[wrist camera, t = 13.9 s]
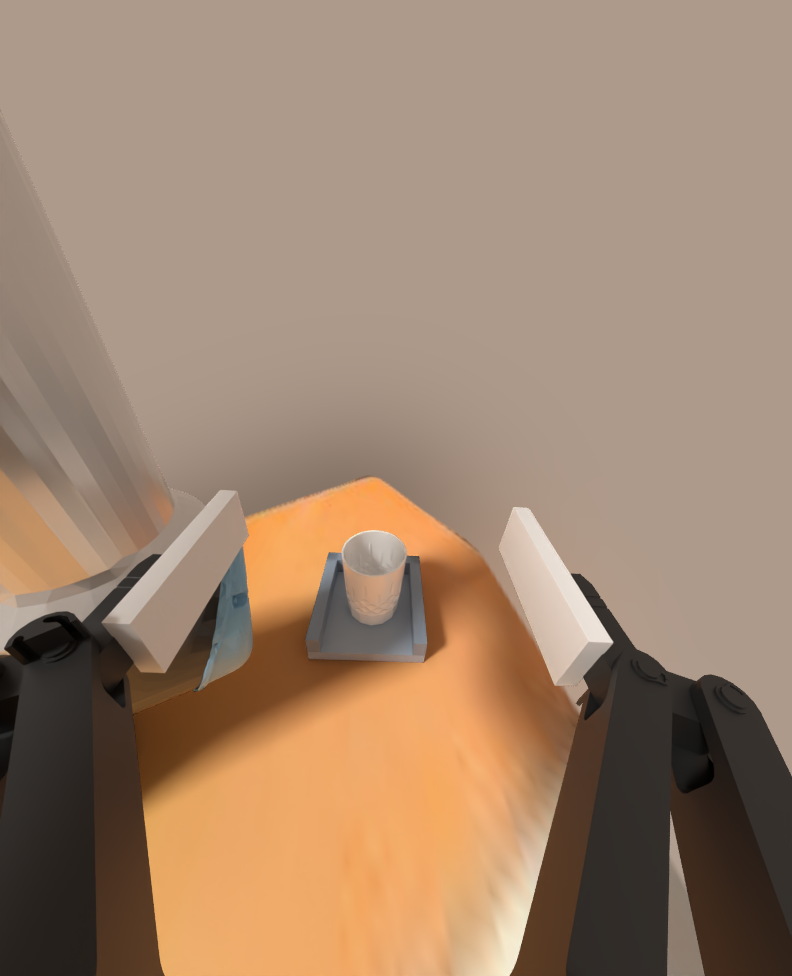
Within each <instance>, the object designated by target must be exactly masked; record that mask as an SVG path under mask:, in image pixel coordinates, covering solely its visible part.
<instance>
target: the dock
mask: <svg viewBox="0 0 792 976" xmlns="http://www.w3.org/2000/svg"><path fill="white" fill-rule="evenodd" d="M305 642H306V647H307V653H308V659H328V660H360V661H391V662H423V663H424V658H425V653H426V648H427V635H426V624H425V614H424V603H423V592H422V582H421V571H420V560H419V556H407V557H406V563H405V569H404V575H403V581H402V586H401V591H400V595H399V599H398V605H397V609H396V611H395V613H394V615H393V616H392V618H391V619H389V620H388V621H386V622H385V623H383V624H378V625H372V626H371V625H367V624H363V623H360V622H359V621H357V620H356V619H355V618H354V617H353V616H352V615H351V612H350V609H349V607H348V598H347V594H346V587H345V580H344V571H343V562H342V553H330V552H329V554H328V557H327V561H326V565H325V569H324V572H323V576H322V580H321V583H320V587H319V591H318V594H317V598H316V602H315V605H314V609H313V613H312V616H311V620H310V624H309V627H308V631H307V635H306V638H305Z"/></svg>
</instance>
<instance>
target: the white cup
mask: <svg viewBox="0 0 792 976" xmlns="http://www.w3.org/2000/svg"><path fill="white" fill-rule="evenodd" d="M406 557H407V550H406V547H405V545H404V543H403V542H402V541H401V540H400V539H399V538H398V537H396V536H395V535H393V534H391V533H388V532H385V531H379V530H370V531H364V532H360V533H358V534H356V535H354V536H352V537H351V538H349V539H348V540H347V541H346V543H345V544H344V546H343V548H342V562H343V571H344V580H345V587H346V594H347V598H348V607H349V609H350V612H351V615H352V616H353V617H354V618H355V619H356V620H357V621H359V622H360V623H363V624H367V625H371V626H372V625H378V624H383V623H385V622H386V621H388V620H389V619H391V618H392V616H393V615H394V613H395V611H396V609H397V605H398V599H399V595H400V591H401V586H402V581H403V575H404V569H405V563H406Z"/></svg>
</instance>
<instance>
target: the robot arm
mask: <svg viewBox="0 0 792 976" xmlns="http://www.w3.org/2000/svg"><path fill="white" fill-rule="evenodd" d="M248 536H249V534H248V530H247V526H246V523H245V519H244V515H243V511H242V508H241V504H240V500H239V497H238V492H237V491H228V490H227V491H226V490H220V491H219V492H218V493H217V495H215V497H214V498H213V499H212V500H211V501H210V502H209V503H208V504H207V505H206V507H205V506H204V504H203V503H201V501H199V500H198V499H197V498H195V497H193V496H192V495H190V494H187V493H185V492H182V491H179V490H175V489H170V488H168V486H167V484H166V482H165V479H164V477H163V475H162V473H161V470H160V468H159V466H158V464H157V461H156V459H155V457H154V455H153V452H152V450H151V448H150V446H149V444H148V441H147V439H146V437H145V434H144V432H143V430H142V428H141V425H140V423H139V421H138V419H137V416H136V414H135V412H134V410H133V407H132V405H131V403H130V401H129V398H128V396H127V394H126V392H125V389H124V387H123V385H122V383H121V380H120V378H119V376H118V374H117V371H116V369H115V367H114V365H113V362H112V360H111V358H110V356H109V353H108V351H107V349H106V347H105V344H104V342H103V340H102V338H101V335H100V333H99V331H98V329H97V327H96V324H95V323H94V320H93V317H92V315H91V313H90V311H89V308H88V306H87V304H86V302H85V299H84V297H83V295H82V293H81V291H80V288H79V286H78V284H77V281H76V279H75V277H74V275H73V273H72V270H71V268H70V266H69V264H68V261H67V259H66V257H65V255H64V252H63V250H62V248H61V246H60V244H59V241H58V239H57V237H56V234H55V232H54V230H53V228H52V225H51V223H50V221H49V219H48V216H47V214H46V212H45V210H44V207H43V205H42V203H41V201H40V198H39V196H38V194H37V192H36V189H35V187H34V185H33V183H32V180H31V178H30V176H29V174H28V171H27V169H26V167H25V165H24V162H23V160H22V158H21V156H20V153H19V151H18V149H17V147H16V144H15V142H14V140H13V138H12V135H11V133H10V131H9V129H8V126H7V124H6V122H5V120H4V117H3V115H2V113H1V111H0V976H165V975H164V973H163V971H162V967H161V964H160V957H159V949H158V940H157V931H156V922H155V913H154V904H153V894H152V885H151V876H150V867H149V858H148V849H147V840H146V830H145V821H144V812H143V803H142V794H141V785H140V776H139V766H138V757H137V748H136V739H135V730H134V721H133V714H136V713H138V712H141V711H143V710H146V709H148V708H150V707H153V706H155V705H158V704H160V703H162V702H165V701H167V700H170V699H172V698H175V697H177V696H179V695H182V694H184V693H187V692H189V691H191V690H193V691H194V692H196V691H199V690H202V689H204V687H206V686H207V684H208V683H210V682H212V681H215V680H217V679H219V678H221V677H223V676H225V675H227V674H229V673H232V672H234V671H236V670H237V669H239V668H240V667H241V666H243V665H244V664H245V662H246V661H247V660H248V658H249V656H250V654H251V652H252V648H253V635H252V623H251V613H250V604H249V598H248V587H247V576H246V567H245V559H244V551H243V544H244V542H245V541H246V539H247V538H248ZM498 549H499V551H500V553H501V556H502V558H503V561H504V563H505V566H506V568H507V571H508V573H509V576H510V578H511V580H512V583H513V585H514V588H515V590H516V593H517V595H518V597H519V600H520V602H521V605H522V607H523V610H524V612H525V615H526V617H527V619H528V622H529V624H530V627H531V629H532V632H533V634H534V637H535V639H536V642H537V644H538V646H539V649H540V651H541V654H542V656H543V659H544V661H545V664H546V666H547V668H548V671H549V673H550V676H551V678H552V681H553V683H554V686H576V685H577V684H578V683H579V682H580V681H581V679H583V678H584V680H585V682H586V684H587V686H588V688H589V689H588V690H587V691H586V692H585V693H584V694H583V695H582V696H581V697H580V698H579V700H578V701H577V703H576V704H577V705H579V706H580V705H581V704H582V703H583V704H582V708H581V712H580V716H579V720H578V724H577V728H576V732H575V736H574V740H573V744H572V747H571V751H570V755H569V759H568V763H567V767H566V771H565V775H564V779H563V783H562V787H561V791H560V795H559V799H558V802H557V806H556V810H555V814H554V818H553V822H552V826H551V830H550V834H549V838H548V842H547V846H546V850H545V854H544V857H543V861H542V865H541V869H540V873H539V877H538V881H537V885H536V889H535V893H534V897H533V901H532V905H531V909H530V912H529V916H528V920H527V924H526V928H525V932H524V936H523V940H522V944H521V948H520V952H519V955H518V959H517V962H516V964H515V967H514V969H513V971H512V973H511V974H510V976H667V947H668V897H669V845H670V811H671V815H672V820H673V825H674V830H675V834H676V839H677V844H678V849H679V853H680V858H681V863H682V868H683V873H684V877H685V882H686V887H687V892H688V897H689V901H690V906H691V911H692V916H693V920H694V925H695V930H696V935H697V940H698V944H699V949H700V954H701V959H702V964H703V968H704V973H705V976H792V776H791V774H790V772H789V770H788V768H787V766H786V764H785V762H784V759H783V757H782V755H781V753H780V751H779V749H778V747H777V745H776V743H775V741H774V739H773V737H772V735H771V733H770V731H769V729H768V727H767V724H766V722H765V720H764V718H763V716H762V714H761V712H760V711H759V709H758V708H757V706H756V704H755V703H754V702H753V701H752V700H751V699H750V698H749V697H748V695H746V693H745V692H743V691H742V690H741V689H739V688H738V687H737V686H735V685H734V684H733V683H731V682H729V681H727V680H725V679H723V678H722V677H718V676H715V675H704V676H703V677H701V678H700V679H699V680H697V681H694V680H691V679H688V678H685V677H682V676H679V675H676V674H673V673H671V672H668V671H666V670H665V669H664V668H663V667H662V666H661V665H660V664H659V662H657V661H656V660H655V659H654V658H652V657H651V656H649V655H648V654H646V653H644V652H641V651H639V650H637V649H636V648H635V647H634V645H633V644H632V642H631V641H630V640H629V638H628V637H627V635H626V634H625V632H624V631H623V630H622V628H621V626H620V625H619V623H618V622H617V620H616V619H615V618H614V616H613V615H612V613H611V612H610V610H609V609H607V606H606V604H605V603H604V601H603V600H602V599H600V596H599V594H598V593H597V591H596V590H595V588H594V587H593V585H592V584H591V583H590V582H588V581H587V580H586V579H585V578H584V577H583V576H582V575H581V574H570V573H569V571H568V570H567V568H566V567H565V565H564V563H563V562H562V560H561V558H560V557H559V555H558V554H557V552H556V551H555V549H554V547H553V546H552V544H551V543H550V541H549V539H548V538H547V536H546V535H545V533H544V531H543V530H542V528H541V527H540V525H539V524H538V522H537V520H536V519H535V517H534V516H533V514H532V512H531V511H530V509H529V508H519V507H513V509H512V512H511V515H510V518H509V520H508V523H507V526H506V529H505V532H504V534H503V537H502V540H501V543H500V545H499V548H498Z"/></svg>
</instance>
